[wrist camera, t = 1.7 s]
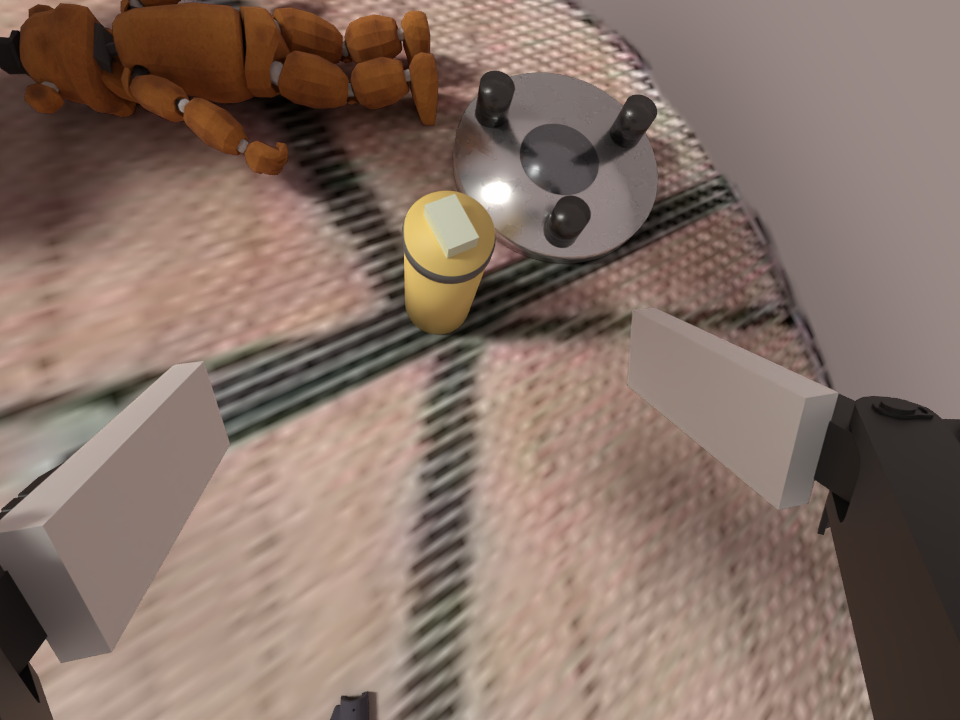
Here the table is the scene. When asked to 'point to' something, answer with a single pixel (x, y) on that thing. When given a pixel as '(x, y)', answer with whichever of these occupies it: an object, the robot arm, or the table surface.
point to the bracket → (352, 709)
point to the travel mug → (444, 258)
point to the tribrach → (557, 164)
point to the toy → (218, 64)
